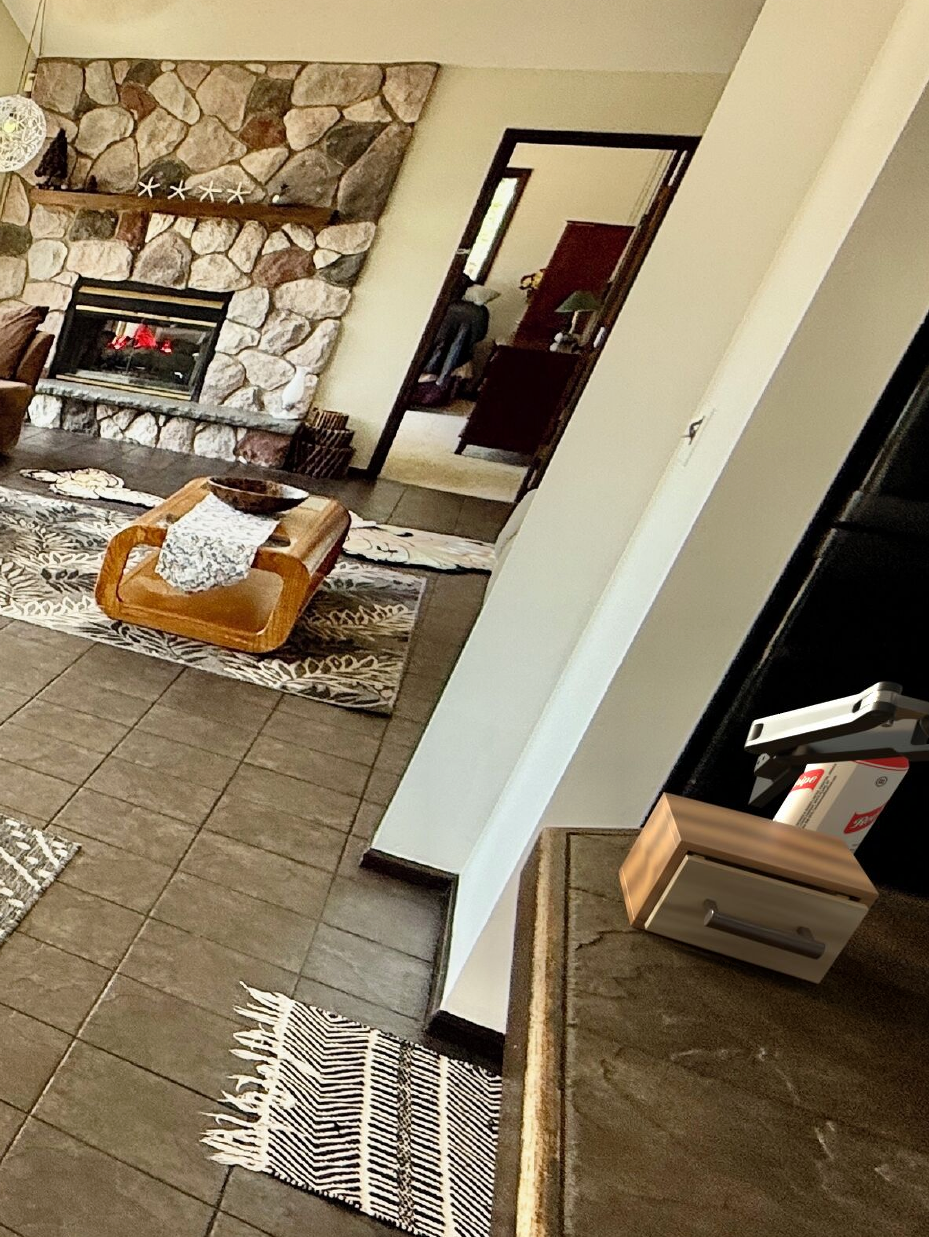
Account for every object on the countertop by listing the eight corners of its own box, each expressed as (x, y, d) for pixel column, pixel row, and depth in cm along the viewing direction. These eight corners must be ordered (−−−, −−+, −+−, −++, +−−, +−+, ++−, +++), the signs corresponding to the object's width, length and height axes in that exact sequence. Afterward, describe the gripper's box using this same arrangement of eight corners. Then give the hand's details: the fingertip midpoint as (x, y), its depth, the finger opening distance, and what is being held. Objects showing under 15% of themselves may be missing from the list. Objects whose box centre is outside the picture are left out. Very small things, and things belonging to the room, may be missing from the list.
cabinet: (818, 984, 105) (879, 894, 102) (630, 926, 113) (680, 839, 109) (788, 922, 116) (843, 838, 112) (618, 872, 123) (663, 791, 119)
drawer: (830, 1008, 100) (883, 932, 97) (650, 951, 107) (694, 878, 104) (790, 925, 114) (836, 855, 110) (632, 878, 120) (671, 812, 117)
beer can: (835, 881, 125) (923, 747, 119) (825, 896, 122) (915, 758, 115) (753, 854, 130) (833, 723, 123) (741, 868, 126) (823, 734, 120)
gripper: (781, 679, 79) (649, 805, 96) (1418, 814, 65) (1133, 935, 82) (810, 590, 81) (676, 730, 98) (1438, 704, 67) (1154, 844, 83)
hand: (884, 823), depth 90 cm, fingers open, 13 cm apart
